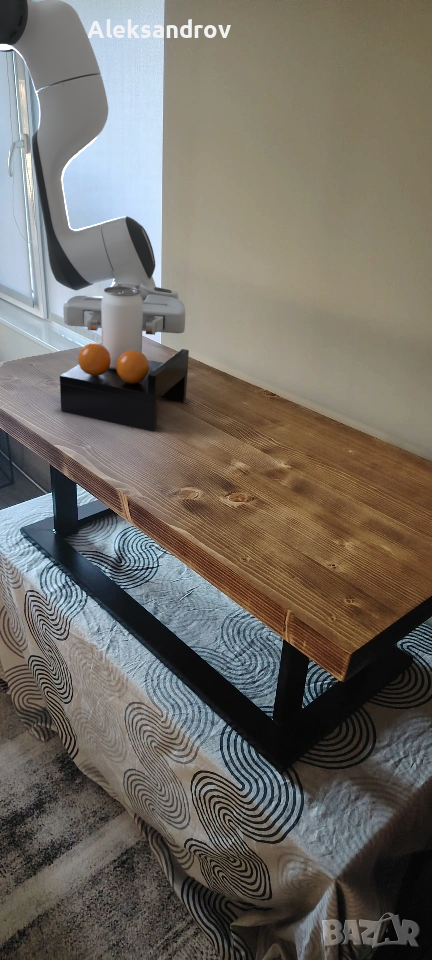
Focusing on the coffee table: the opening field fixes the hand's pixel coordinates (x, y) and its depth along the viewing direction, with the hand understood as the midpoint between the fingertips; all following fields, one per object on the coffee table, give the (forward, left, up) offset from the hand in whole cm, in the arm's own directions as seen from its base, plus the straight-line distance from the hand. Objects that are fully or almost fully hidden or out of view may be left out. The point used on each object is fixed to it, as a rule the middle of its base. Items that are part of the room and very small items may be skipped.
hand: (121, 327), depth 99 cm
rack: (+2, -2, -12) cm, 13 cm away
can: (0, +1, -7) cm, 7 cm away
